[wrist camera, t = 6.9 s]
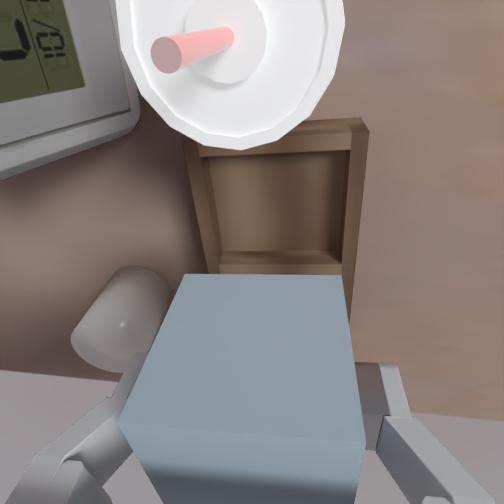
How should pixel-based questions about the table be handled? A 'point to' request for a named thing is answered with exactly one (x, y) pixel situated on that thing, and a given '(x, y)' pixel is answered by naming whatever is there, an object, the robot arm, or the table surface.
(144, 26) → the beverage cup
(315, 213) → the organiser base
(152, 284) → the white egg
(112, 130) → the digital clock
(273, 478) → the blue cube
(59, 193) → the table surface
